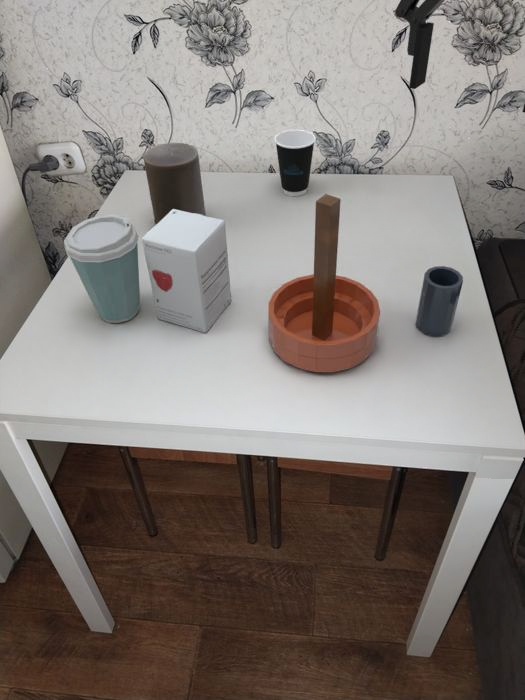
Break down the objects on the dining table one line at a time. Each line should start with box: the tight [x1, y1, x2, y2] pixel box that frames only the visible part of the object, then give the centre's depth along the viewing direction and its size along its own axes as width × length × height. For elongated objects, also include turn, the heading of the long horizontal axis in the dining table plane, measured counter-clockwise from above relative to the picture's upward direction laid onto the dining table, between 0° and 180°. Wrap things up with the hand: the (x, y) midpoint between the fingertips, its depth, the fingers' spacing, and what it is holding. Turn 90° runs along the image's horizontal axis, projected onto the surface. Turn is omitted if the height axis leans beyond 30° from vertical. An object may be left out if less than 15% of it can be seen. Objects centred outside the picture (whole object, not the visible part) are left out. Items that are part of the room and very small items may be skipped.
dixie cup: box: [273, 128, 317, 197], centre depth 116 cm, size 8×8×11 cm
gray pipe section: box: [415, 265, 464, 338], centre depth 85 cm, size 5×5×9 cm
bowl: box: [267, 273, 381, 373], centre depth 85 cm, size 16×16×6 cm
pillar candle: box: [143, 142, 207, 225], centre depth 107 cm, size 10×10×15 cm
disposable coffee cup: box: [63, 213, 141, 324], centre depth 89 cm, size 11×11×15 cm
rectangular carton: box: [141, 209, 232, 334], centre depth 88 cm, size 9×9×15 cm
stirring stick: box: [312, 193, 341, 341], centre depth 79 cm, size 2×2×22 cm
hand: (470, 96), depth 68 cm, fingers open, 13 cm apart
